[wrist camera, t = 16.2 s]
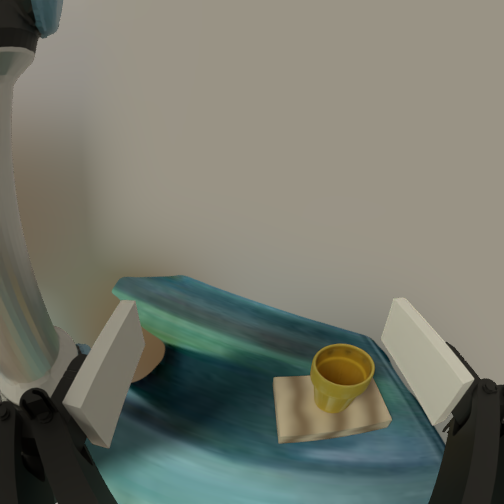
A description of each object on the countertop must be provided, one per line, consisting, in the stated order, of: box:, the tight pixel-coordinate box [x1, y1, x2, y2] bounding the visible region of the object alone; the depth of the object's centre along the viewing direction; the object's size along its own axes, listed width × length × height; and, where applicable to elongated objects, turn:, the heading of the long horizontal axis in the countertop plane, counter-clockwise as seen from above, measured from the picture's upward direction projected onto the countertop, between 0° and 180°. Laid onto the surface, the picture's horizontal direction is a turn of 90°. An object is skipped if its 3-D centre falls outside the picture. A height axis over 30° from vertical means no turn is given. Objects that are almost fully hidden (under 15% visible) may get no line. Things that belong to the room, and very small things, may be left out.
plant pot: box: [310, 344, 375, 413], centre depth 41 cm, size 10×10×10 cm
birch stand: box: [273, 375, 392, 443], centre depth 43 cm, size 20×14×2 cm
